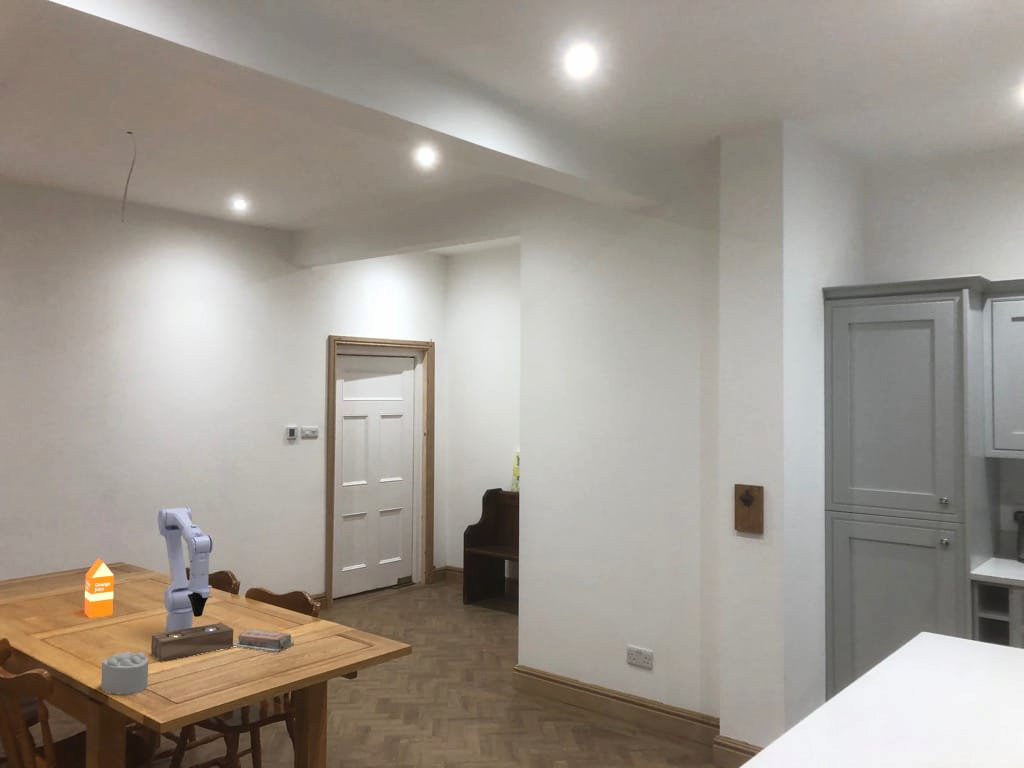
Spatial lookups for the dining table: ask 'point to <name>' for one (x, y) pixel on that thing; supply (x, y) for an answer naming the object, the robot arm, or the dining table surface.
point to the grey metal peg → (210, 629)
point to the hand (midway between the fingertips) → (197, 616)
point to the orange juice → (99, 590)
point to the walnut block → (191, 642)
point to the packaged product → (264, 640)
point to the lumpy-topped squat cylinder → (125, 673)
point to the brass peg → (174, 635)
